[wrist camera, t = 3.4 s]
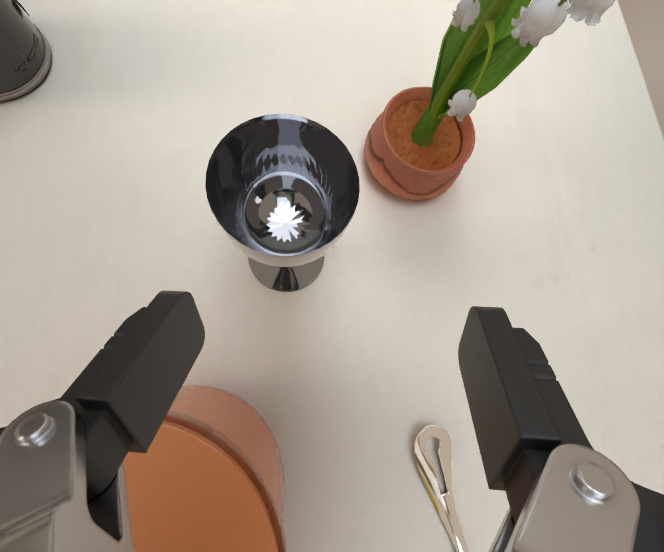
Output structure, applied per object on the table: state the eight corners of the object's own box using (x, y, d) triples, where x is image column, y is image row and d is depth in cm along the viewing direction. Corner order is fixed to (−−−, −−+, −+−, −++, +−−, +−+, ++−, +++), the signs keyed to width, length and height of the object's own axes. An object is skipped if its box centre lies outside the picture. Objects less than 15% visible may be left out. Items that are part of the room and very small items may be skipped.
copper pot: (97, 668, 24) (-183, 1143, 10) (49, 407, 27) (-224, 482, 13) (317, 568, 27) (349, 824, 13) (254, 342, 30) (222, 343, 16)
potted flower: (450, 230, 35) (831, -31, 10) (355, 216, 34) (529, -110, 9) (454, 127, 37) (770, -280, 13) (365, 111, 36) (524, -365, 12)
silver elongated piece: (412, 443, 26) (466, 424, 27) (397, 428, 30) (445, 412, 31) (488, 719, 25) (543, 690, 25) (463, 669, 28) (511, 645, 29)
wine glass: (336, 227, 33) (373, 137, 19) (317, 305, 31) (341, 274, 17) (257, 205, 33) (231, 95, 18) (233, 284, 31) (182, 232, 16)
